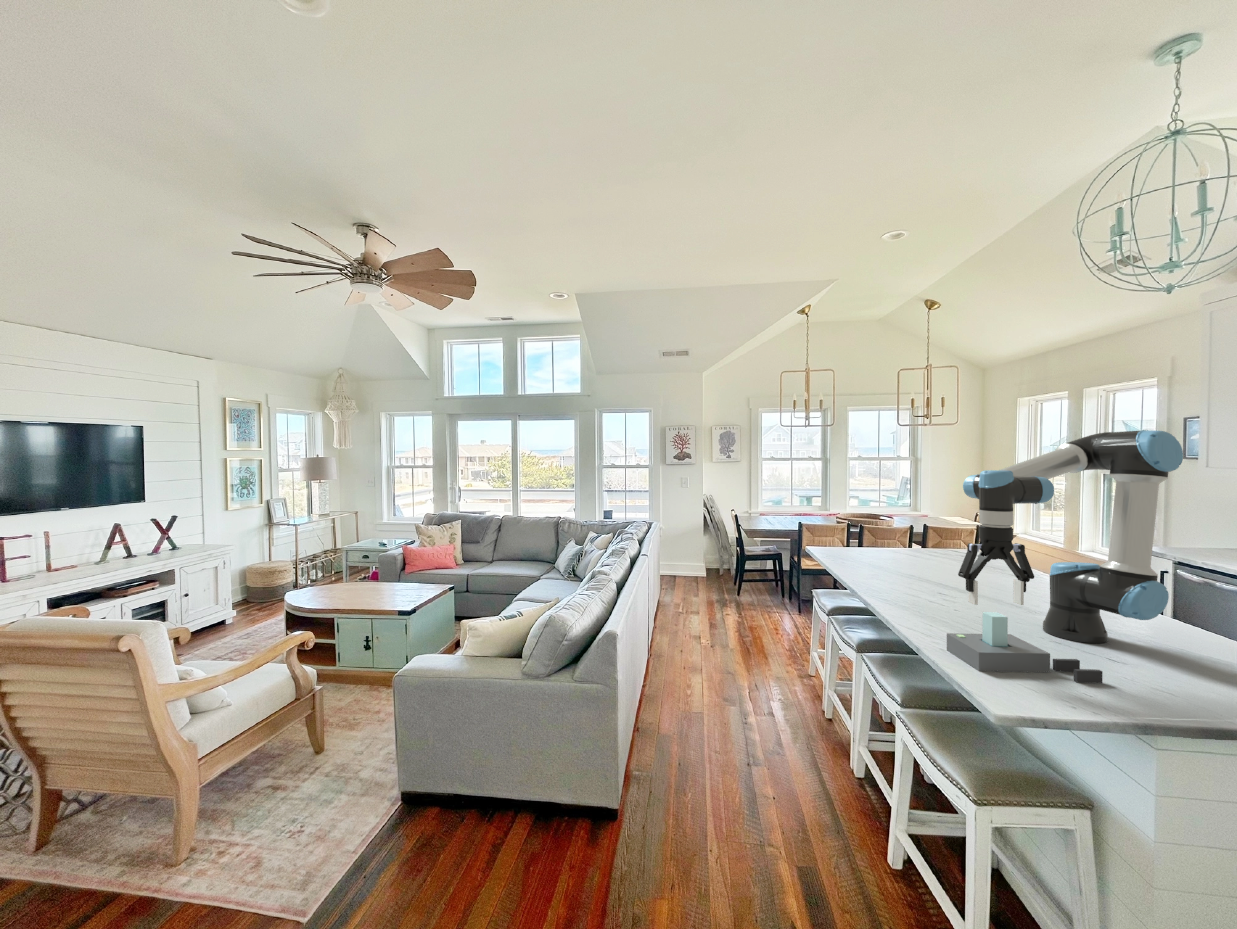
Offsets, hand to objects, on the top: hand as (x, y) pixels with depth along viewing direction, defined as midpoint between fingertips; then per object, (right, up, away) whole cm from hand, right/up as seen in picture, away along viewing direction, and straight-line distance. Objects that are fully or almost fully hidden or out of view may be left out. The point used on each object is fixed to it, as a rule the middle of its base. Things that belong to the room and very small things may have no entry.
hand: (995, 603), depth 135 cm
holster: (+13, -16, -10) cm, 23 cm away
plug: (0, -15, 0) cm, 15 cm away
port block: (0, -16, 0) cm, 16 cm away
